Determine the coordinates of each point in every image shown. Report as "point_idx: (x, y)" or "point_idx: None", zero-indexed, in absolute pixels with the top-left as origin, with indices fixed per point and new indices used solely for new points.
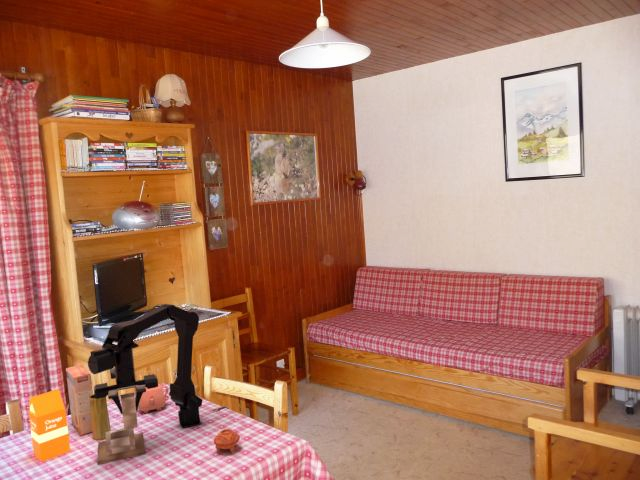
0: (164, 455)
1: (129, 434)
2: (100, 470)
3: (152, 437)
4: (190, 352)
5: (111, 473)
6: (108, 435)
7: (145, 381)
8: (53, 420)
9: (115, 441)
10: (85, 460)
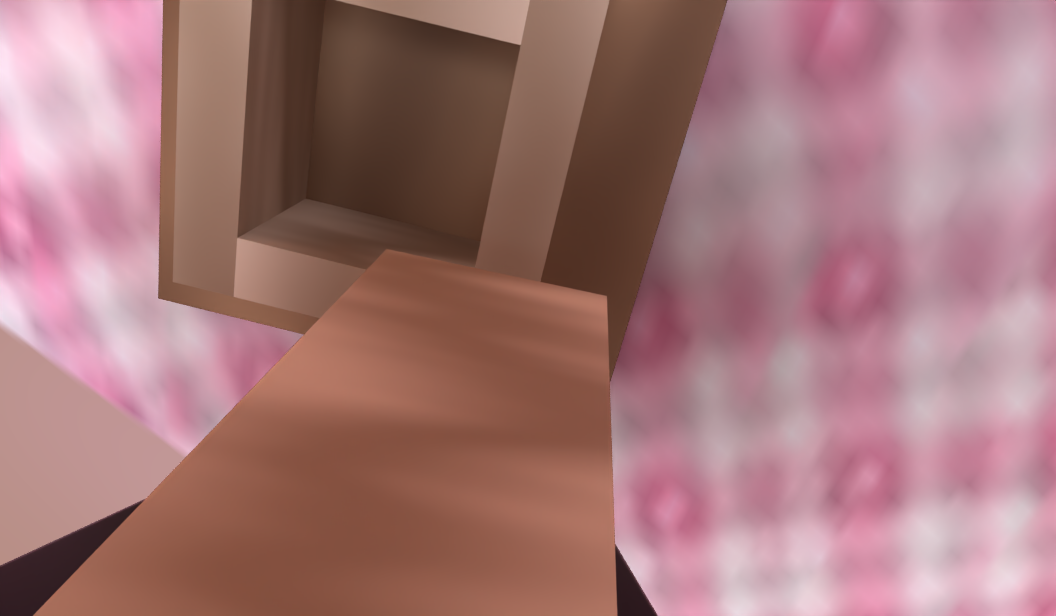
0: (724, 531)
1: (484, 248)
2: (199, 403)
3: (818, 56)
4: None
5: None
6: (217, 58)
7: None
8: None
9: (293, 306)
10: (62, 106)
